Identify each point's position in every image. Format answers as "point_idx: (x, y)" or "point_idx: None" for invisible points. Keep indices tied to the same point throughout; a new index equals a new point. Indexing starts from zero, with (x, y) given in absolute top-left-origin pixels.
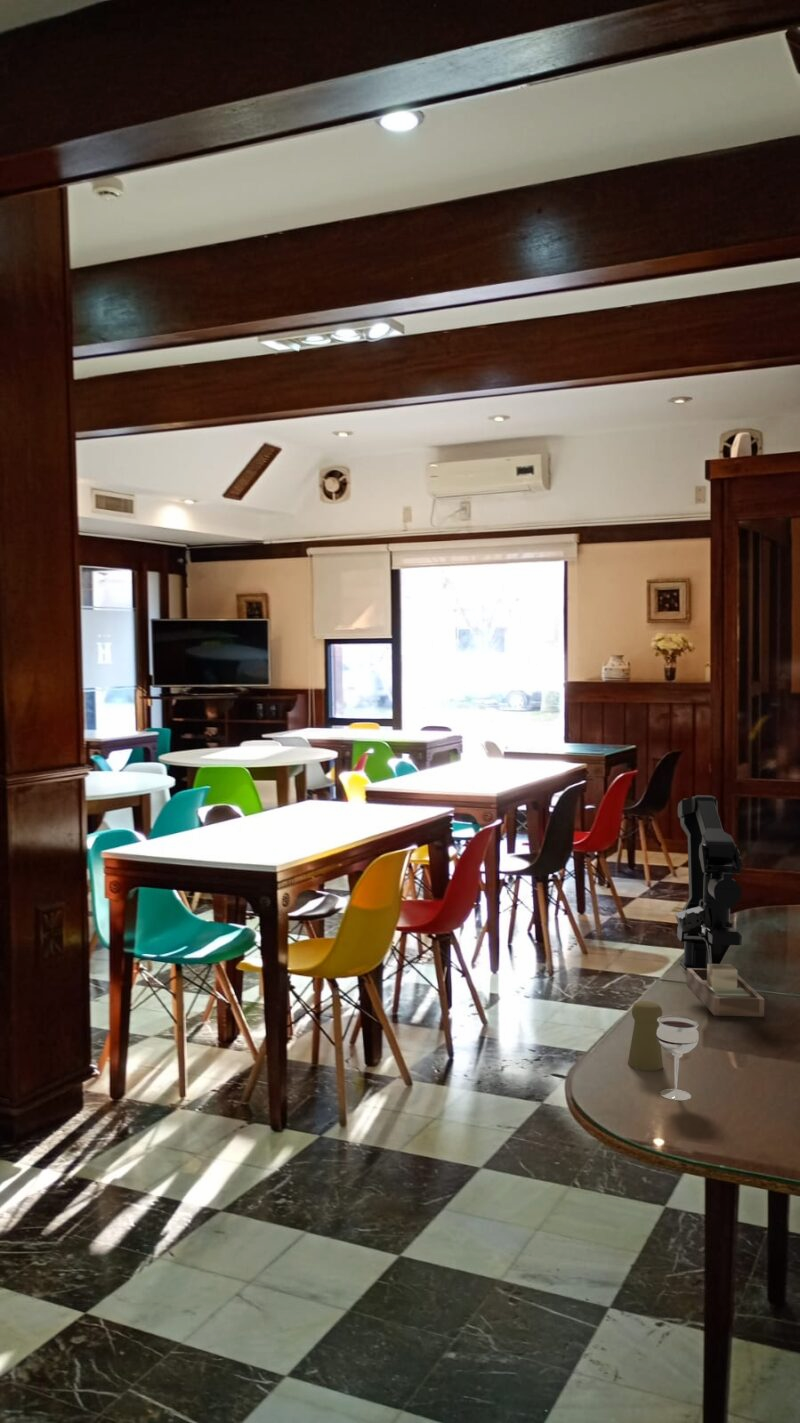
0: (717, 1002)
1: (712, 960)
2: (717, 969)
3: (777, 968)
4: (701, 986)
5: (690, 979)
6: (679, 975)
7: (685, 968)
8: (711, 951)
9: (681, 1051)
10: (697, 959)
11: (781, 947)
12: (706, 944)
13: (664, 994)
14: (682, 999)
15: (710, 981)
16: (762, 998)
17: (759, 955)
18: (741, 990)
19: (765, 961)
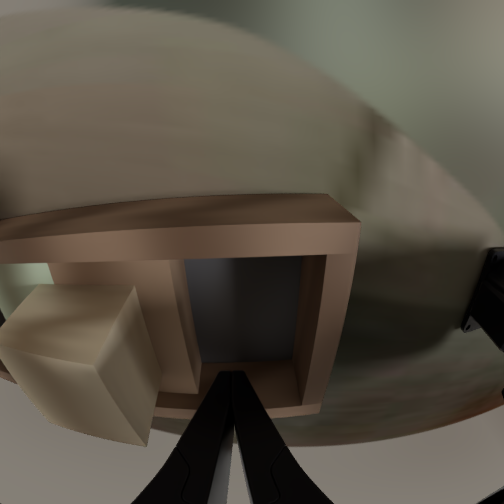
0: None
1: (195, 413)
2: (7, 362)
3: (417, 425)
4: (10, 235)
5: (238, 208)
6: (450, 204)
7: (493, 249)
8: (160, 471)
9: None
10: (496, 304)
11: (489, 407)
12: (314, 493)
13: (111, 51)
14: (49, 133)
15: (61, 297)
16: None
17: (483, 393)
18: None
19: (458, 405)
